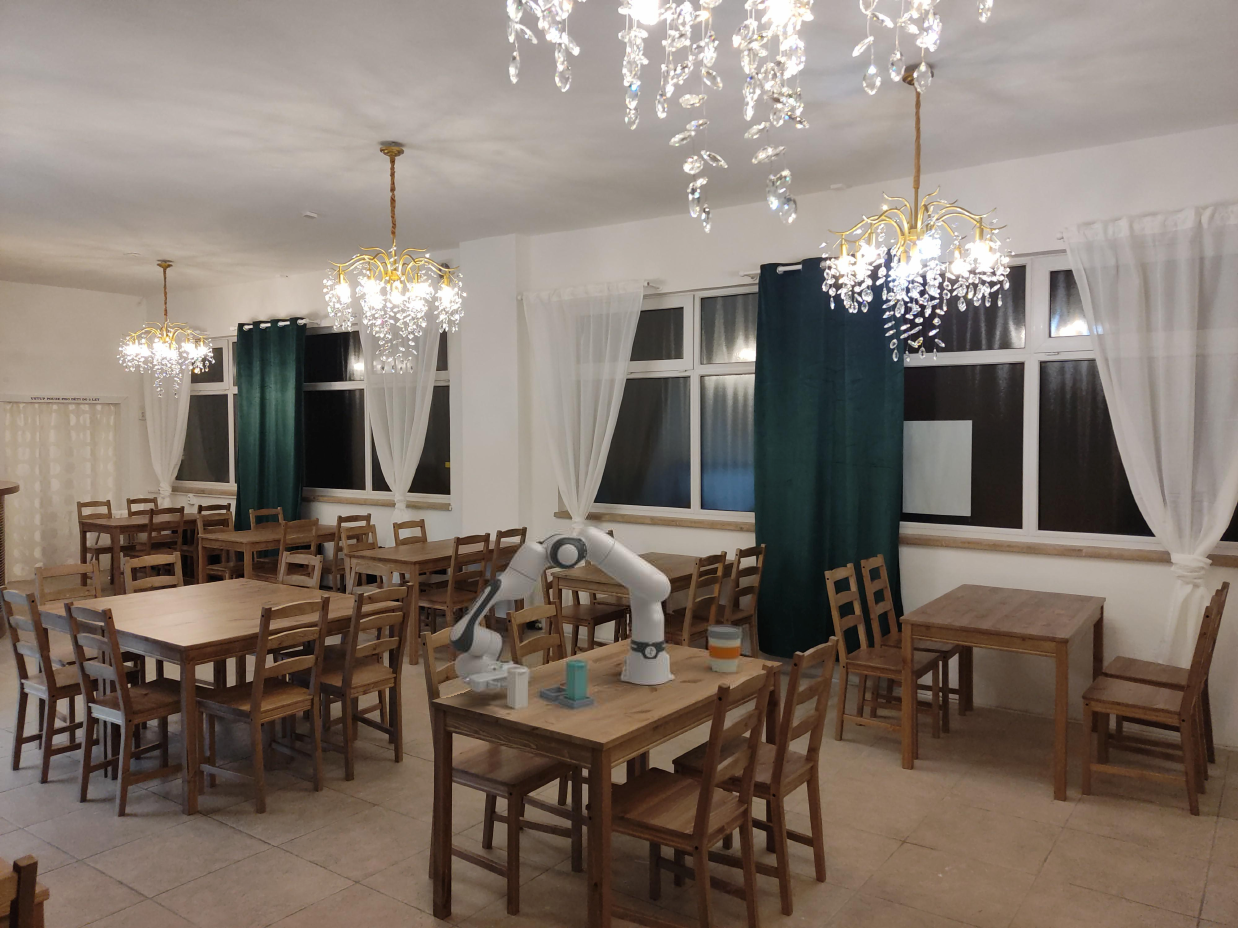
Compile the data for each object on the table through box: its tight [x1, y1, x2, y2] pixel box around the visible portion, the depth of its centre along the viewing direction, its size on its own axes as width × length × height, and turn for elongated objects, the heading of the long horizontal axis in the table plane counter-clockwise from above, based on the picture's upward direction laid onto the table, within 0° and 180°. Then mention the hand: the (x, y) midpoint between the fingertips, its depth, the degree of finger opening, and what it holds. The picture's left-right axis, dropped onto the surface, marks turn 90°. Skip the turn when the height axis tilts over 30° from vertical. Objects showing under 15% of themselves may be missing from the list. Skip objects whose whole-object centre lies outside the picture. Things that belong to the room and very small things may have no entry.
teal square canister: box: [565, 658, 588, 702], centre depth 270 cm, size 6×6×13 cm
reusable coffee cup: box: [707, 624, 743, 674], centre depth 319 cm, size 13×13×15 cm
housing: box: [534, 685, 600, 712], centre depth 274 cm, size 20×10×4 cm, turn 41°
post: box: [506, 665, 529, 710], centre depth 268 cm, size 6×6×13 cm
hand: (513, 683), depth 270 cm, fingers open, 8 cm apart
